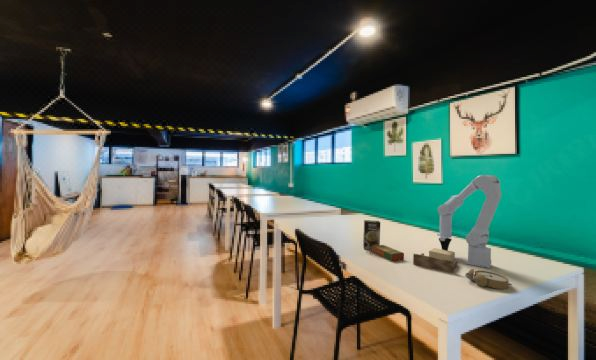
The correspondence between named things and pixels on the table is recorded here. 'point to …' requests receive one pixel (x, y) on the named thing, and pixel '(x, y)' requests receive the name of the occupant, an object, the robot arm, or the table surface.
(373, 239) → the coffee box
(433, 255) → the small carton
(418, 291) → the table surface
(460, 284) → the table surface
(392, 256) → the carton
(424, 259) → the frame
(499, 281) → the alarm clock
